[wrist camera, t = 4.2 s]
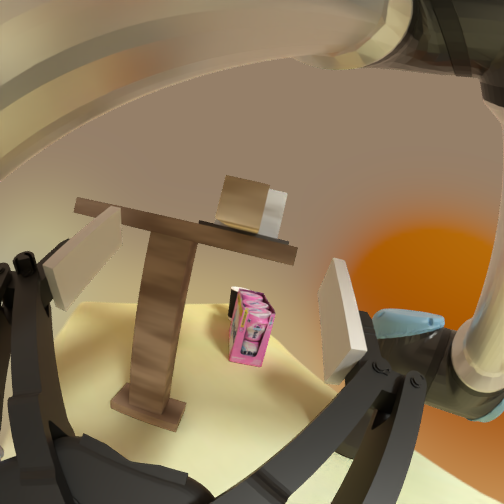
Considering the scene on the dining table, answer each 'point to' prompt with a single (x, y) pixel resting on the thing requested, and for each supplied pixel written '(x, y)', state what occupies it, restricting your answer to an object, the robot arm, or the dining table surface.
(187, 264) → the wooden t-shaped stand
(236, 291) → the dixie cup
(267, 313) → the gum box
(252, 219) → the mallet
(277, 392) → the dining table surface
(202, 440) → the dining table surface
